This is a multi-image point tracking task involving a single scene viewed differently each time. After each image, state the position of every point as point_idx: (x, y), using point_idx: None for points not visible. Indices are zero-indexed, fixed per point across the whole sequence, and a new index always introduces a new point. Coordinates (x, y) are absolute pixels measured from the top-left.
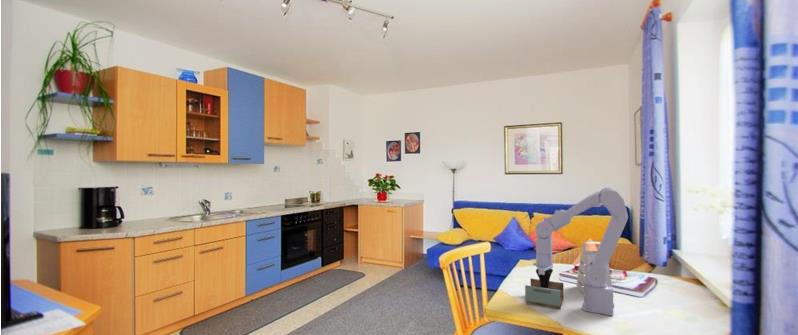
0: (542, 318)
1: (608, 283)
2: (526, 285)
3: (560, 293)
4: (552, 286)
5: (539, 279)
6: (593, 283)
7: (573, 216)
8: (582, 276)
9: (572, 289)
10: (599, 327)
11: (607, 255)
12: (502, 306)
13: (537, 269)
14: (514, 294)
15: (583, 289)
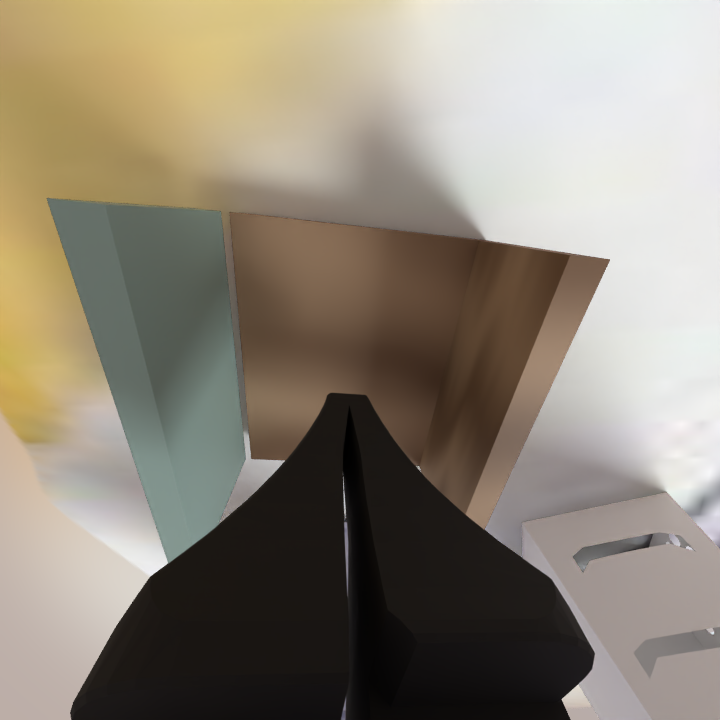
0: (25, 357)
1: None
2: (100, 222)
3: (426, 467)
4: (455, 460)
5: (291, 456)
6: None
7: None
8: (666, 613)
9: (613, 478)
10: (139, 560)
11: None
12: None
13: (284, 701)
14: (450, 43)
15: (566, 537)
